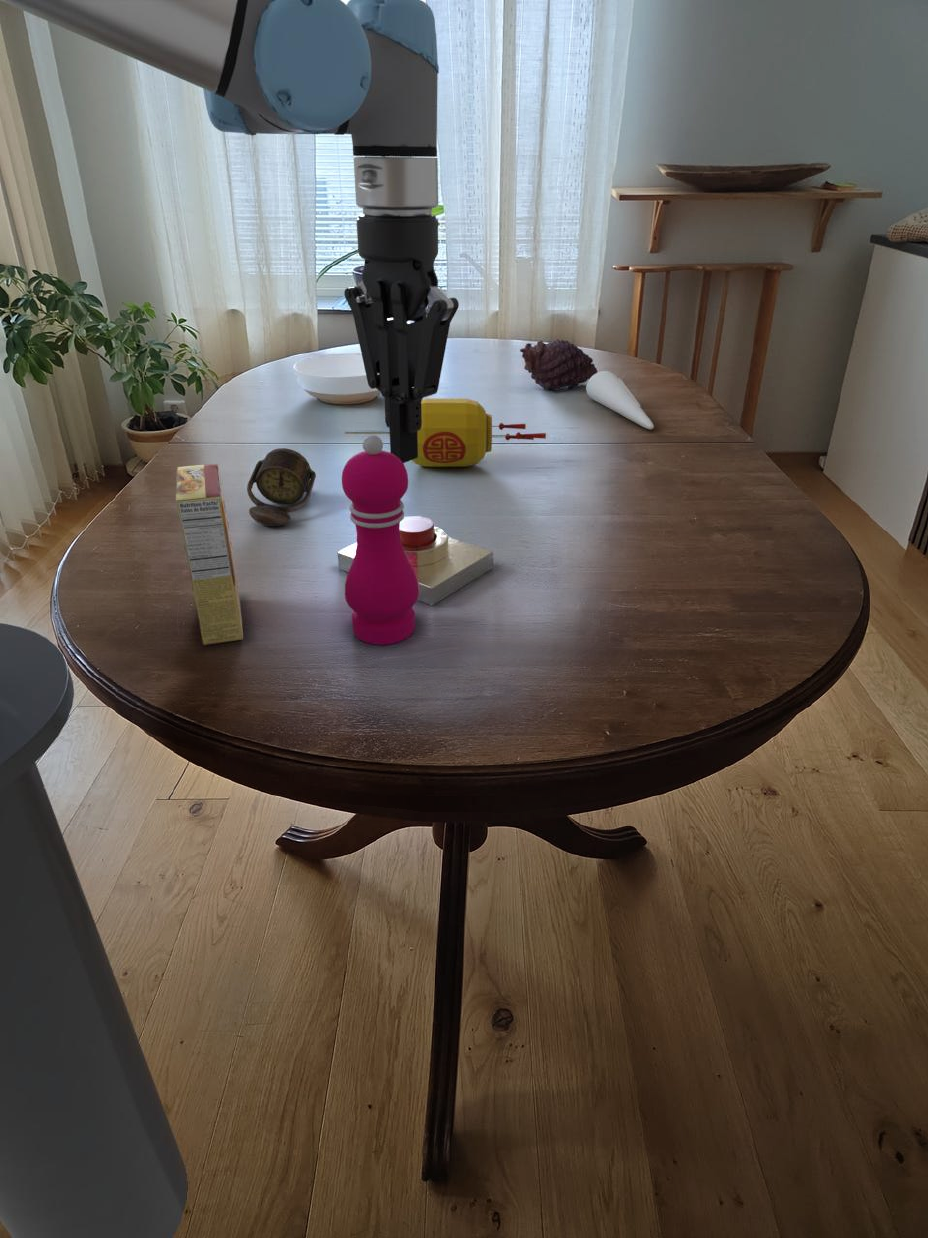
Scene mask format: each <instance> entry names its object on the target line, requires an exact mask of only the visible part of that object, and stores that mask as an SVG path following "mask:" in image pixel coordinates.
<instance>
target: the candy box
mask: <svg viewBox="0 0 928 1238" xmlns="http://www.w3.org/2000/svg"><path fill="white" fill-rule="evenodd" d="M222 485H223V484H222V480H221V474H220V467H219V464H217V463H211V464H197V465H185V466H184V465H183V466H178V467H176V471H175V503H176V508H177V513H178V518H179V519H178V520H179V523H180V529H181V534H182V540H183V544H184V545H183V546H184V551H185V556H186V561H187V566H188V572H189V577H190V582H191V587H192V592H193V593H192V594H193V598H194V604H195V609H196V614H197V620H198V624H199V625H198V626H199V630H200V635H201V640H202V641H201V642H202V644H203V646H209V645H215V644H221V643H228V642H234V641H242V640H244V632H243V629H244V628H243V618H242V607H241V599H240V592H239V591H240V590H239V583H238V577H237V570H236V565H235V556H234V551H233V544H232V537H231V532H230V525H229V520H228V514H227V508H226V502H225V496H224V490H223V486H222Z"/></svg>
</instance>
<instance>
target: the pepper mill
mask: <svg viewBox="0 0 928 1238" xmlns="http://www.w3.org/2000/svg"><path fill="white" fill-rule="evenodd" d="M362 448H363V451H361V452H358V453H356V454H355V455H353V456H351V457H350V458H349V460H347V461H346V462H345V465H344V467H343V469H342V474H341V486H342V490H343V494H344V495H345V496H346V497H347V499H348V500H349V501H350V504H349V507H348V509H349V511H350V515H349V519H350V521H351V522H352V523H353V524H354V525H355V530H356V531H355V532H356V543H357V547H356V553H355V557H354V559H353V562H352V564H351V566H350V569H349V572H347V574H346V579H345V583H344V598H345V602H346V603H347V605H348V607H349V608H350V609H351V610H352V611H353V612H352V614H351V621H352V622H351V623H352V632H353V635H354V636H355V637H356V638H357V639H359V640H360V641H362V642H364V643H367V644H371V645H376V646H377V645H378V646H384V645H385V646H386V645H393V644H397V643H401V642H403V641H405V640H407V639H408V638H410V636H412V634H413V633H414V632H415V629H416V617H415V616H416V615H415V610H414V608H413V607H414V605H415V604H416V603H417V601H418V600H417V599H418V594H419V589H418V581H417V578H416V575H415V572H414V569H413V567H412V565H411V564H410V562H409V560H408V558H407V556H406V554H405V552H404V550H403V546H402V543H401V538H400V530H399V528H400V522H401V521H402V520H403V518H404V517H405V512H404V508H405V504H404V502H403V500H401V499H402V498H403V497H404V495H405V494H406V493H407V491H408V487H409V476H408V475H409V473H408V470H407V468H406V466H405V463H403V462H402V461H401V460H400V459H399V458H398V457H396V456H395V455H394V454H392V453H390V451H386V450H383V449H384V443H383V440H382V439H381V438H380V436H378V435H377V434H368V435H367V436H366V437H365V438H364V439H363V442H362Z"/></svg>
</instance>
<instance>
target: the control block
mask: <svg viewBox="0 0 928 1238" xmlns="http://www.w3.org/2000/svg"><path fill="white" fill-rule="evenodd" d="M356 547H357V542H355V543H353V544H351V545H348V546H347V547H345V548H343V549H341V550H339V551H337V564H338V570H341V571H343V572H346V573H348V572H349V569H350V566H351V564H352V562H353V559H354V557H355V553H356ZM403 550H404V552H405V554H406V556H407V558H408V560H409V562H410V564H411V565H412V567H413V569H414V572H415V575H416V578H417V581H418V589H419V594H418V599H417V601H419V602H421V603H424V604H427V605H428V606H432V607H433V606H434V605H436V604H437V603H439V602H440V601H443V600H444V599H445V598H447V597H449V596H451V595H452V594H453V593H455V592H457V591H459V590H460V589H462V588H463V587H465V586H467V585H469V584H470V583H471V582H473V581H475V580H476V579H478V578H480V577H481V576H482V575H485V574H486V573H487V572H489V571H490V570H492V569H493V568H494V567H493V566H494V551H493V550H490V549H487V548H485V547H481V546H478V545H475V544H472V543H469V542H466V541H463V540H460V539H457V538H454V537H451V536H449V535H448V533H446V532H445V531H444V529H442V528H441V527H437V526H435V525H434V542H433V543H431V544H429V545H426V546H420V547H405V546H403Z"/></svg>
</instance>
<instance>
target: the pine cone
mask: <svg viewBox="0 0 928 1238" xmlns="http://www.w3.org/2000/svg"><path fill="white" fill-rule="evenodd" d="M519 352H520V353H522V354H521V358H523V359H524V367H523V368H524V370H526V371H527V372H528V374H530V378H531V379H532V380H534V382H535V384H536V385H539V386H540V387H541V388H545V389H546V390H547V391H549V390H552V389H553V390H554V391H557V390H559V389H560V388H564V389H565V388H567V387H568V388H569V387H577V386H578V385H579V384H585V383H587V382H588V381H589V379H590V378H591V377H592V376H593V375H594V374H596V373H598V370H597V367H596V366H595V364H594V363H593V361H594V359H593V358H592V357H590V356H589V355H588V354H586V353H585V352H584V351H583V349H581V348H579V347H578V346H577V345H575V344H574V343H572V342H571V343H570V341H568V340H564V339H561V340H560V339H556V340H553V341H549V342H548V343H545V342H543V340H539V341H537V342H536V344H535V345H534V346H532V343H526V344H525V345H524V347H523V348H520V349H519Z"/></svg>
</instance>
